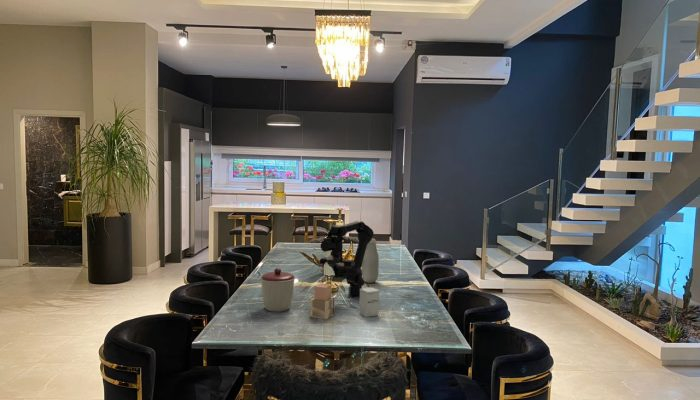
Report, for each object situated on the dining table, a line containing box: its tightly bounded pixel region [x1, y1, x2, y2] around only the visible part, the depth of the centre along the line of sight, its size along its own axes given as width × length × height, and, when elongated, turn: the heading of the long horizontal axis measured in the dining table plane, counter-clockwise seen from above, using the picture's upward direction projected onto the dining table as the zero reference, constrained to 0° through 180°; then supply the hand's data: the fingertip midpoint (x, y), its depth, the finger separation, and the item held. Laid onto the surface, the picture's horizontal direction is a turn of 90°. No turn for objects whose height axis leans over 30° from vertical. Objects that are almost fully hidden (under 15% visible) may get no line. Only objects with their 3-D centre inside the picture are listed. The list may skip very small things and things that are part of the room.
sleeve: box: [309, 296, 335, 320], centre depth 245 cm, size 8×9×9 cm
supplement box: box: [358, 286, 380, 318], centre depth 248 cm, size 7×7×13 cm
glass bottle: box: [361, 237, 380, 284], centre depth 310 cm, size 10×10×28 cm
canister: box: [259, 267, 296, 313], centre depth 254 cm, size 18×18×21 cm
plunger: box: [314, 283, 332, 301], centre depth 245 cm, size 6×6×14 cm
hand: (336, 277), depth 269 cm, fingers closed
